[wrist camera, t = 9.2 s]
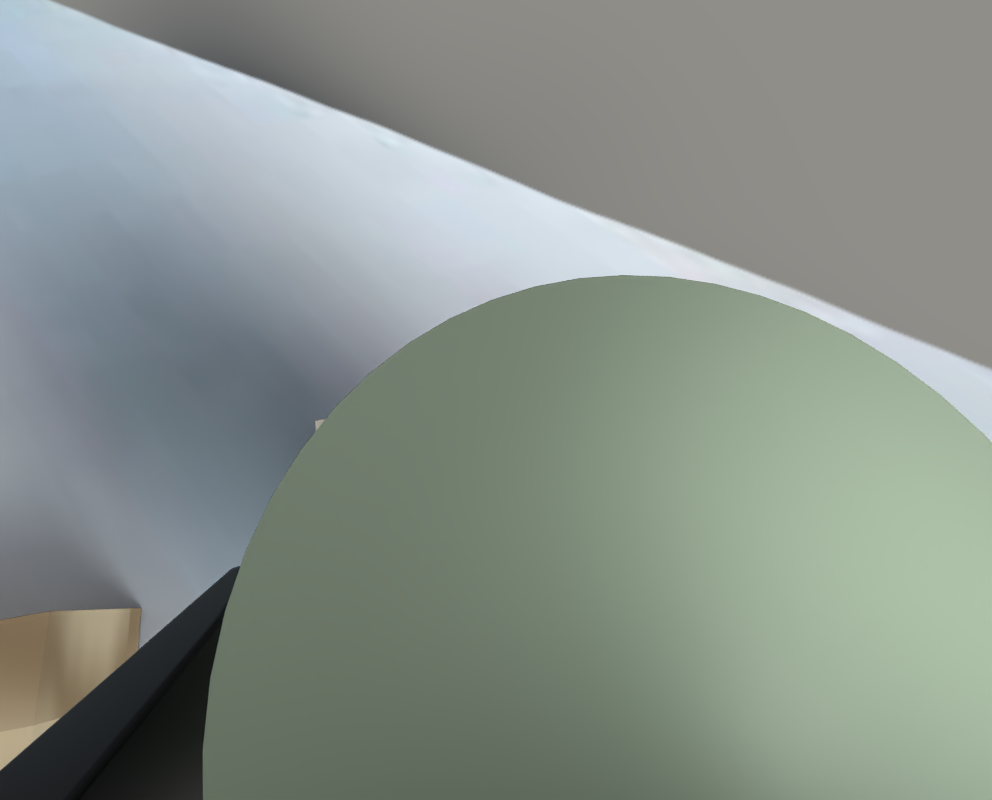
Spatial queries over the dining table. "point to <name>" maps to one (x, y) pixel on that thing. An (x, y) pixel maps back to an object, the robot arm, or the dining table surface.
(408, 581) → the pin
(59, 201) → the dining table surface
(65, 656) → the pocket block
